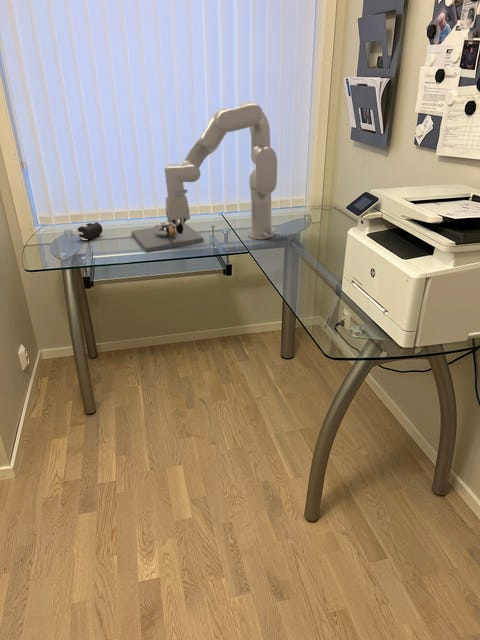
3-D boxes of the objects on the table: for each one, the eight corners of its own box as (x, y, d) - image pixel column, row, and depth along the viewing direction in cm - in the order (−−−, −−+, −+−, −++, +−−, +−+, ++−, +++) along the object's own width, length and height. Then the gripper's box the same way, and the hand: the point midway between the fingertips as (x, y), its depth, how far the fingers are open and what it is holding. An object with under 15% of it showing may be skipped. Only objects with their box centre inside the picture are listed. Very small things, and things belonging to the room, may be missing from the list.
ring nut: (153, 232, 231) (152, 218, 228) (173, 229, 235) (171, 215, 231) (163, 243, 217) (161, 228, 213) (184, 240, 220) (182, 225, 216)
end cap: (90, 242, 229) (87, 228, 226) (79, 240, 232) (76, 227, 229) (103, 235, 237) (101, 222, 234) (93, 234, 240) (90, 221, 237)
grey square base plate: (203, 241, 224) (203, 237, 223) (146, 252, 214) (145, 247, 213) (184, 225, 246) (184, 221, 245) (131, 234, 236) (131, 230, 235)
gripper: (189, 189, 216) (193, 228, 225) (157, 194, 211) (162, 233, 220) (194, 193, 209) (197, 232, 218) (161, 197, 205) (166, 238, 214)
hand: (180, 232), depth 219 cm, fingers closed
